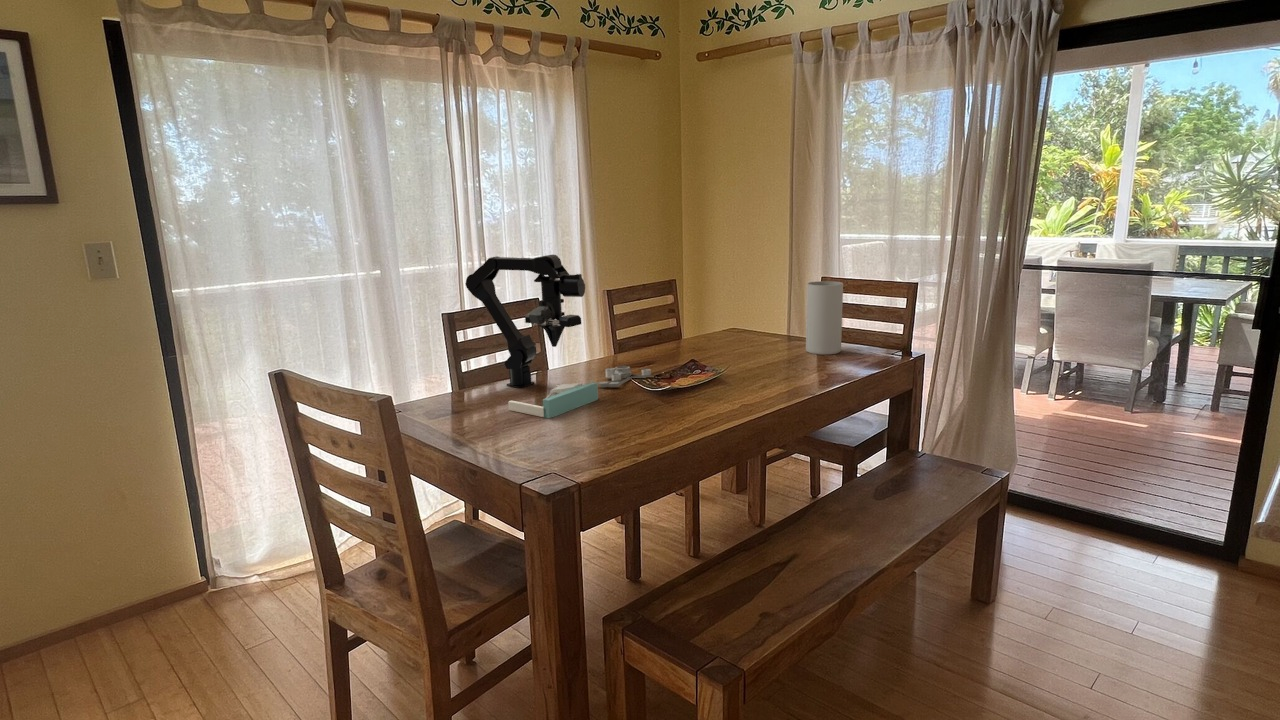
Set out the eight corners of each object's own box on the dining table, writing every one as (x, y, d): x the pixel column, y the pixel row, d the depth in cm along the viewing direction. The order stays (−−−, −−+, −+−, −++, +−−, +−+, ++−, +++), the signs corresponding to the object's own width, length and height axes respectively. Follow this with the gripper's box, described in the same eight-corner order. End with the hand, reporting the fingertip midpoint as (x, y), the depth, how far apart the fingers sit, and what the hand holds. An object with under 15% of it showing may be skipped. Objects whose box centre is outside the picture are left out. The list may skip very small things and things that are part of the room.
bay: (508, 409, 200) (507, 392, 199) (558, 392, 216) (557, 376, 215) (549, 418, 191) (548, 400, 190) (598, 399, 207) (597, 383, 206)
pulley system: (582, 385, 228) (606, 392, 215) (581, 370, 227) (605, 376, 215) (652, 374, 243) (678, 380, 230) (651, 360, 242) (678, 365, 230)
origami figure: (567, 395, 213) (566, 379, 211) (588, 399, 208) (587, 383, 206) (539, 405, 203) (538, 389, 202) (560, 410, 198) (559, 393, 197)
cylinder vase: (806, 355, 254) (808, 285, 249) (804, 347, 266) (806, 281, 261) (842, 355, 252) (845, 285, 247) (839, 347, 264) (841, 281, 259)
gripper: (510, 298, 215) (514, 348, 219) (556, 301, 204) (559, 354, 208) (536, 293, 224) (539, 342, 227) (581, 296, 213) (583, 347, 217)
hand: (554, 346), depth 220 cm, fingers closed
